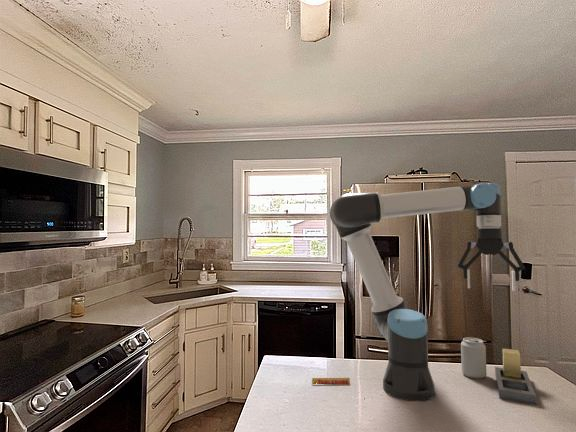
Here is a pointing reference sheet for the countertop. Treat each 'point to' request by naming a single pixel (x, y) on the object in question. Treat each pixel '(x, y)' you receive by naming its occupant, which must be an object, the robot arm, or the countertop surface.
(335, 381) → the chocolate bar
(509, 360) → the brass block
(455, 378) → the countertop surface
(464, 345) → the can
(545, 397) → the countertop surface
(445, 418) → the countertop surface
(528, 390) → the rack
